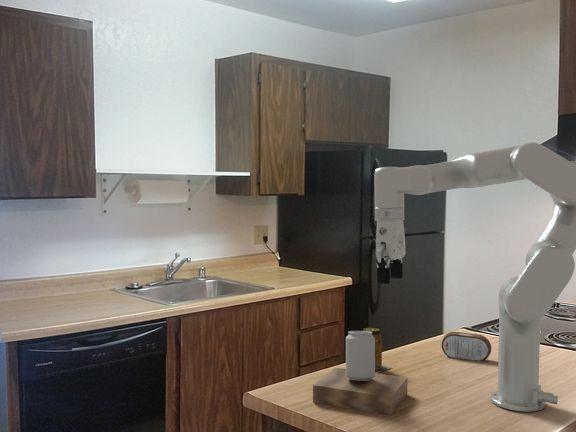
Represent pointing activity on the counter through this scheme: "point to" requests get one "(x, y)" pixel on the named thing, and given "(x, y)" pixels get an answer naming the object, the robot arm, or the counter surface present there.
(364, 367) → the can
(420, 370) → the counter surface
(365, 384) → the chopping block
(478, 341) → the tin
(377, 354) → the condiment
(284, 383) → the counter surface
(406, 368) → the counter surface
